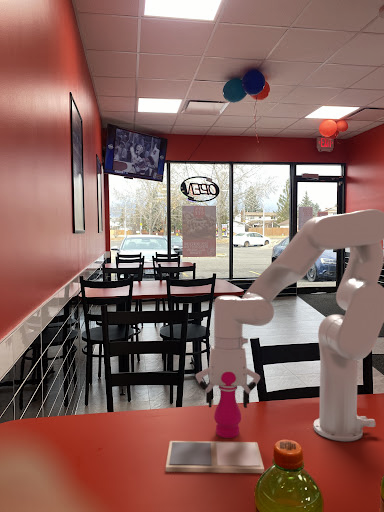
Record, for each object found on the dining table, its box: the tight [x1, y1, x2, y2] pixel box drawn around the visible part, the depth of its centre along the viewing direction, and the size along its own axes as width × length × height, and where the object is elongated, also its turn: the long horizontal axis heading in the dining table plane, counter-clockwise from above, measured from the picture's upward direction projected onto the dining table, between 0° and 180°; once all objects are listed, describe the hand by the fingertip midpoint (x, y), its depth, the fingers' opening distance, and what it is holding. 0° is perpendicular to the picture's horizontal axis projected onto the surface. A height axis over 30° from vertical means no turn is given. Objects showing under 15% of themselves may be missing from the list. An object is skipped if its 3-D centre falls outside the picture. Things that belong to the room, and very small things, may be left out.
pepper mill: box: [213, 372, 242, 439], centre depth 110 cm, size 7×7×20 cm
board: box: [165, 440, 265, 474], centre depth 98 cm, size 22×12×1 cm, turn 88°
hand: (227, 405), depth 111 cm, fingers open, 9 cm apart
